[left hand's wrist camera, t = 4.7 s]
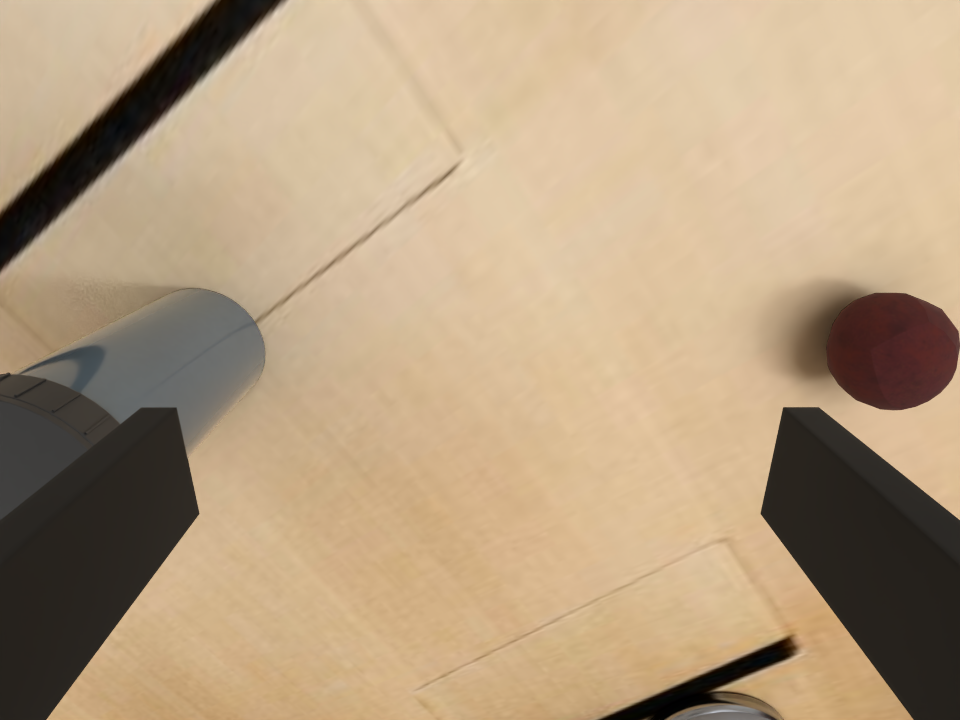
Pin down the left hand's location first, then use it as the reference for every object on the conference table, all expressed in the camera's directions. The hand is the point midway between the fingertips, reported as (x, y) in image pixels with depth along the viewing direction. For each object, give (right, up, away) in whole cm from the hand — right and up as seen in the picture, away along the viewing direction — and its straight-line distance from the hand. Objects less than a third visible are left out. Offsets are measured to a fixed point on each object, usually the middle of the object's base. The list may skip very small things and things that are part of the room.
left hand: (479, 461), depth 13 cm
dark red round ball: (+27, +4, +28) cm, 39 cm away
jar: (-20, +3, +29) cm, 35 cm away
